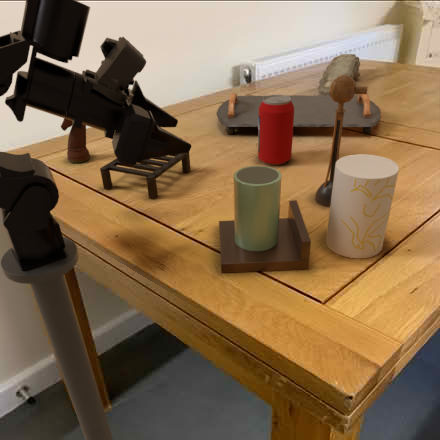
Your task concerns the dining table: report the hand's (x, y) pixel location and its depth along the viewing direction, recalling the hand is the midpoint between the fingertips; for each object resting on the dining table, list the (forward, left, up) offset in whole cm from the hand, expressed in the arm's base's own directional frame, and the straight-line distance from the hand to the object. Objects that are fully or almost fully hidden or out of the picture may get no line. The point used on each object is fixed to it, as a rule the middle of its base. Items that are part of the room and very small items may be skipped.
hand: (183, 135), depth 65 cm
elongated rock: (+76, +46, -10) cm, 90 cm away
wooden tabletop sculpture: (+24, -6, -15) cm, 29 cm away
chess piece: (-5, +39, -10) cm, 40 cm away
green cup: (+5, -11, -13) cm, 18 cm away
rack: (+2, +21, -15) cm, 25 cm away
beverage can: (+27, +14, -15) cm, 34 cm away
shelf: (+5, -11, -15) cm, 19 cm away
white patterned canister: (+17, -18, -15) cm, 29 cm away
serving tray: (+47, +30, -15) cm, 57 cm away
